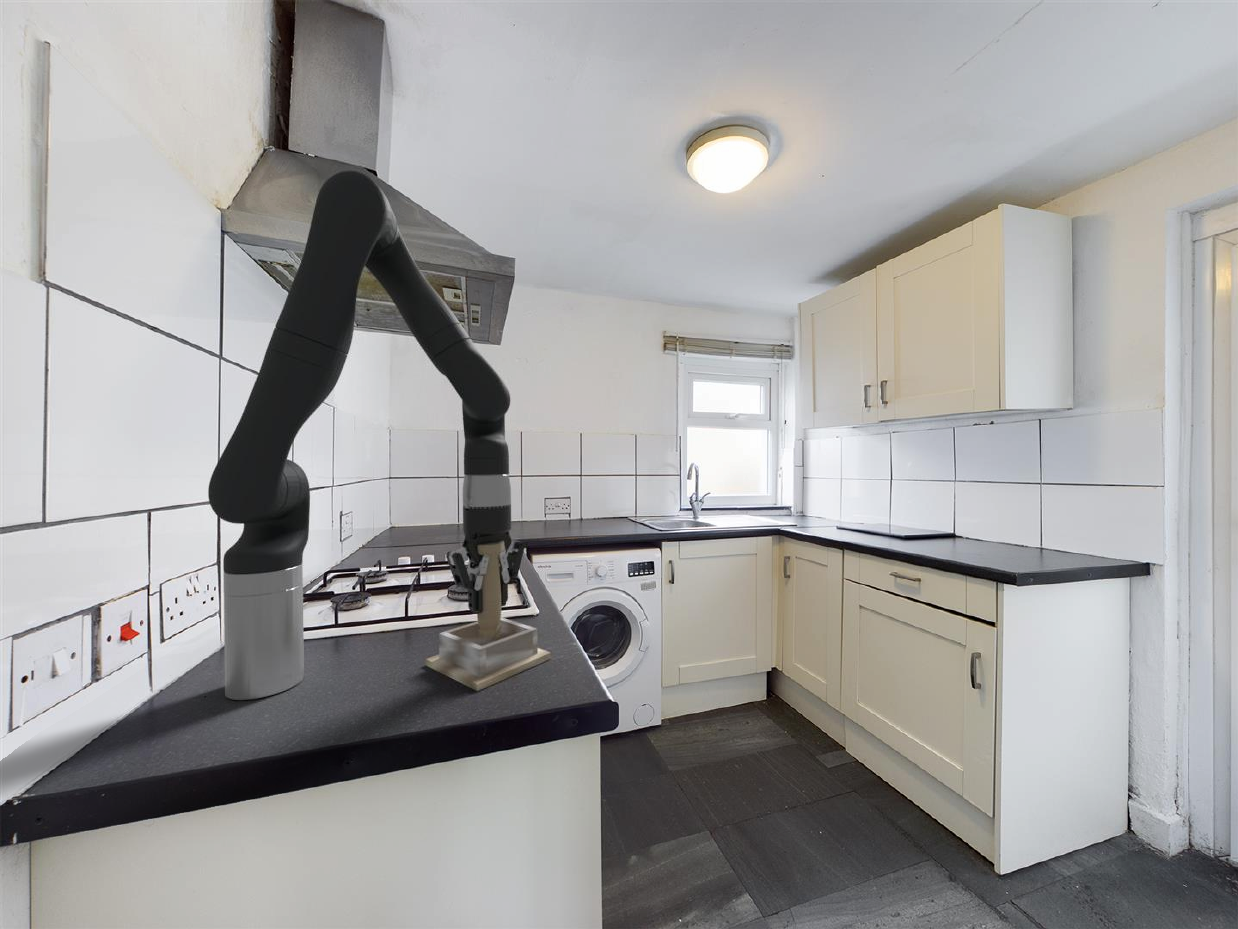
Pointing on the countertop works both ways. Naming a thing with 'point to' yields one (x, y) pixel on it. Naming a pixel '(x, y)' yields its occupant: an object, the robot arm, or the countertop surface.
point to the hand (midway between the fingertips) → (488, 608)
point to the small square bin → (487, 653)
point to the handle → (491, 591)
